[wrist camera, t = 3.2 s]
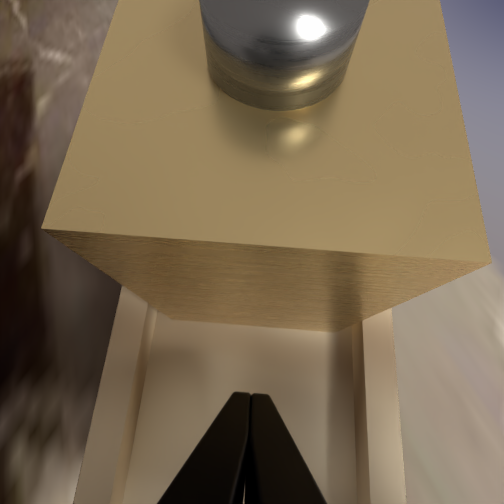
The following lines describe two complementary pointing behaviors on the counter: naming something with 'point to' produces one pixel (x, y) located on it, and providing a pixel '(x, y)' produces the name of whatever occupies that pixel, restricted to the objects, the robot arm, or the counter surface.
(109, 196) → the block
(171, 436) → the beam
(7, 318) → the counter surface
